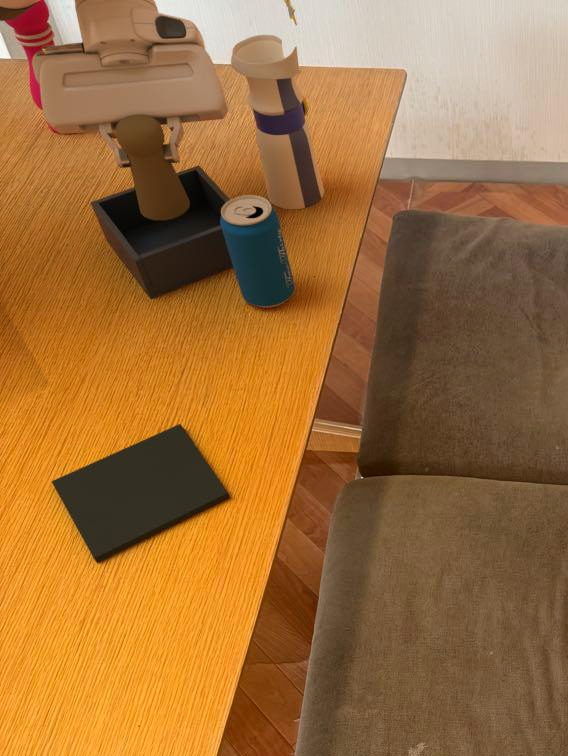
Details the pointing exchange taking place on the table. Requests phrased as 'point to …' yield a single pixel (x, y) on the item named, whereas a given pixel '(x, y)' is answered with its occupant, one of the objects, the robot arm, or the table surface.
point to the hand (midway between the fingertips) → (149, 164)
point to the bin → (168, 235)
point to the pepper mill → (34, 40)
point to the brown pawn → (151, 168)
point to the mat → (139, 491)
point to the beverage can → (257, 250)
